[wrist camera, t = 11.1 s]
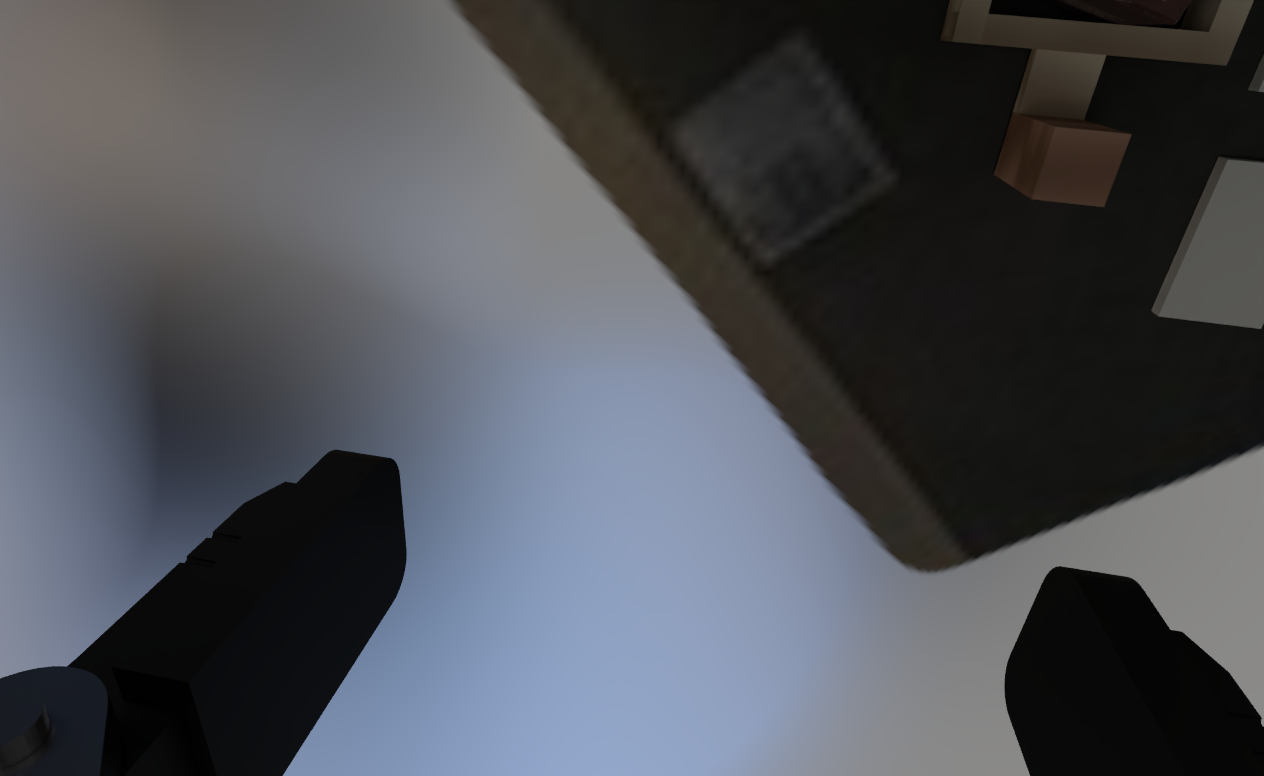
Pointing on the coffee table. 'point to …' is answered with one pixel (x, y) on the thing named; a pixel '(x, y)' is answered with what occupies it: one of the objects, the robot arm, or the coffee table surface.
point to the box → (1125, 10)
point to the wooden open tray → (1080, 88)
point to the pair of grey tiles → (1222, 248)
